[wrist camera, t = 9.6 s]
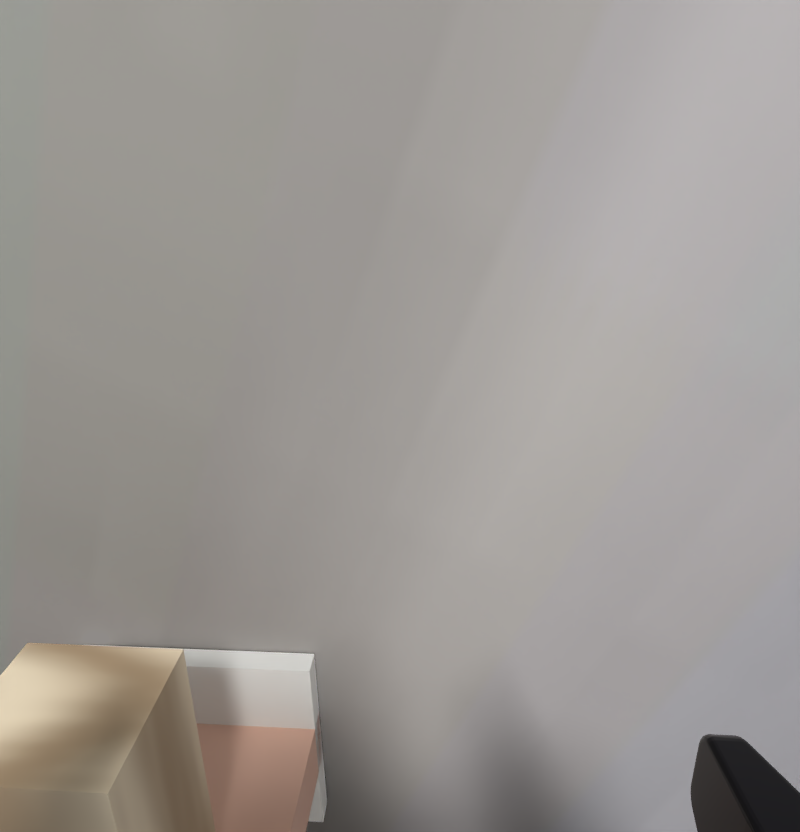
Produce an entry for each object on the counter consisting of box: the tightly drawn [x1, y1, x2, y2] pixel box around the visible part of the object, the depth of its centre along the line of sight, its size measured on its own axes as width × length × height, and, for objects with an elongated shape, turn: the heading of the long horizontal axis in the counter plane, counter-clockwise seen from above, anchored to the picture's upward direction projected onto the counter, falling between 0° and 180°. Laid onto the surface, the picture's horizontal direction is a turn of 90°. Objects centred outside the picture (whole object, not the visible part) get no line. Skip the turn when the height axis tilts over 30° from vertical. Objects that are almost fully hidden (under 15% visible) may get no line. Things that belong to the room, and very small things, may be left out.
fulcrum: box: [92, 645, 327, 832], centre depth 23 cm, size 8×7×5 cm
